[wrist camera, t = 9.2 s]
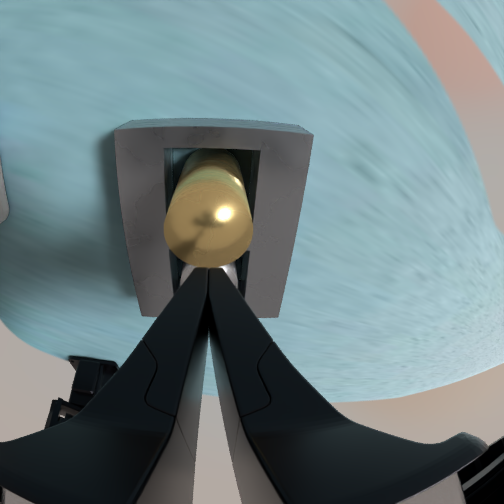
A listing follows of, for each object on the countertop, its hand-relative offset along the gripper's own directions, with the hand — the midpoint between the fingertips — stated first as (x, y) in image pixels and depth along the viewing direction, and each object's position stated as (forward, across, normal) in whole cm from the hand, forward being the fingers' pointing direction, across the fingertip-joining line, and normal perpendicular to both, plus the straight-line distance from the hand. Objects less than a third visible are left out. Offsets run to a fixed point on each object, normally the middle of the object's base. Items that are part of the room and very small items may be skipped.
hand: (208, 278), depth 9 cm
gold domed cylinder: (+10, 0, 0) cm, 10 cm away
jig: (+10, 0, +3) cm, 10 cm away
